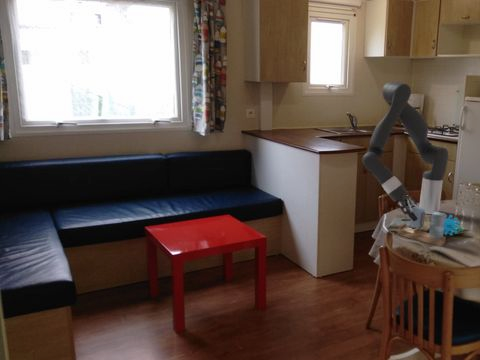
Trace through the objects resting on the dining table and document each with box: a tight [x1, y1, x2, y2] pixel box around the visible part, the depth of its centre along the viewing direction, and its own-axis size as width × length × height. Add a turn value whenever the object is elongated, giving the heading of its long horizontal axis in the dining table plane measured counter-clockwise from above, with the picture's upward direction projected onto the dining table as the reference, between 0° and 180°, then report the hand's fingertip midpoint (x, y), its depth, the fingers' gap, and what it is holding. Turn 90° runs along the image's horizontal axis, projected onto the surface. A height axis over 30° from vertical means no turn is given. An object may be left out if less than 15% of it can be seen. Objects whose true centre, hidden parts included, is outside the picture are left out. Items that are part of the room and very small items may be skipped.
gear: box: [443, 214, 465, 237], centre depth 193 cm, size 11×6×10 cm
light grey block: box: [409, 205, 426, 229], centre depth 195 cm, size 4×4×10 cm
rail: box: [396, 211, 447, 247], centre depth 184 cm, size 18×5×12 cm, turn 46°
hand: (418, 217), depth 195 cm, fingers open, 8 cm apart
